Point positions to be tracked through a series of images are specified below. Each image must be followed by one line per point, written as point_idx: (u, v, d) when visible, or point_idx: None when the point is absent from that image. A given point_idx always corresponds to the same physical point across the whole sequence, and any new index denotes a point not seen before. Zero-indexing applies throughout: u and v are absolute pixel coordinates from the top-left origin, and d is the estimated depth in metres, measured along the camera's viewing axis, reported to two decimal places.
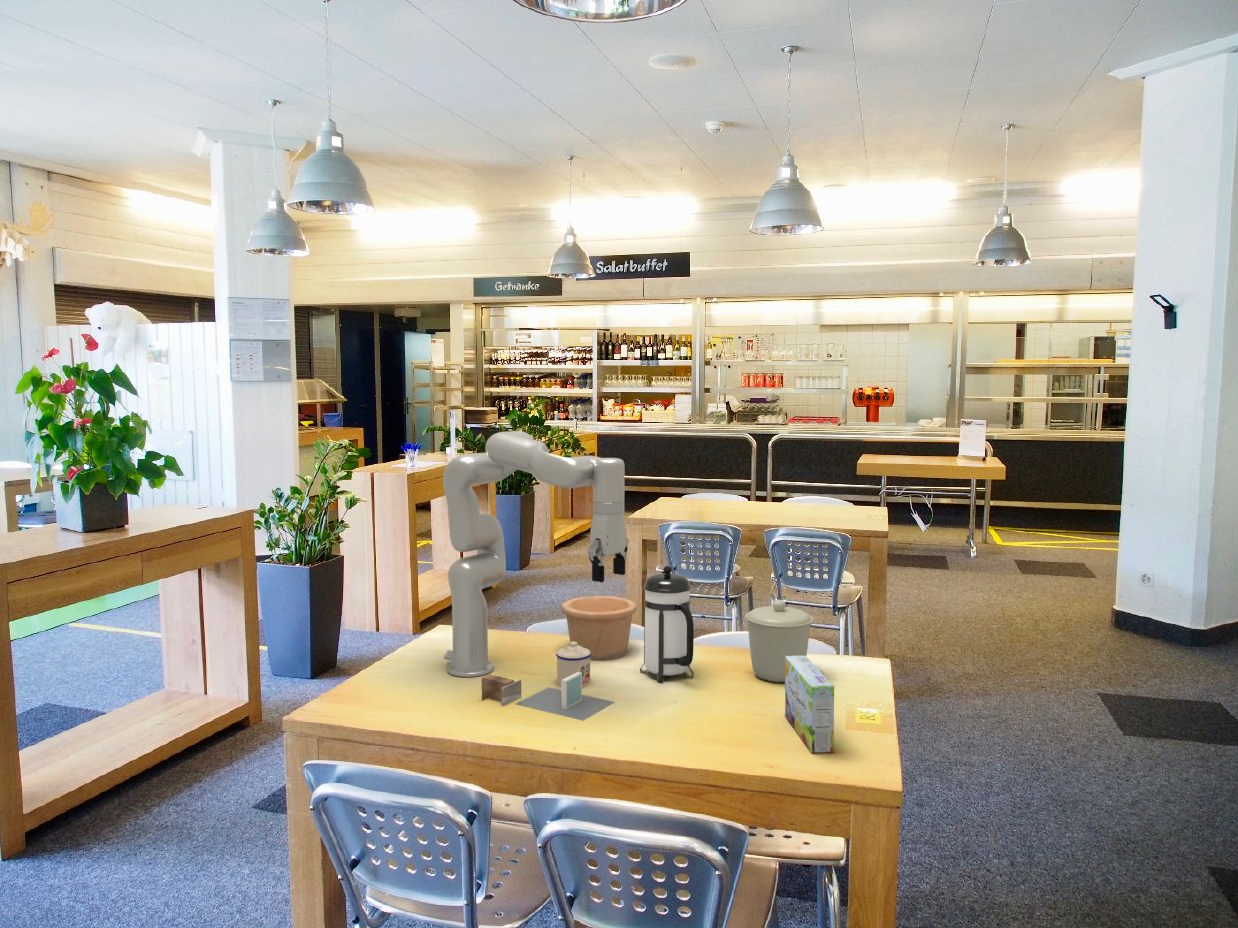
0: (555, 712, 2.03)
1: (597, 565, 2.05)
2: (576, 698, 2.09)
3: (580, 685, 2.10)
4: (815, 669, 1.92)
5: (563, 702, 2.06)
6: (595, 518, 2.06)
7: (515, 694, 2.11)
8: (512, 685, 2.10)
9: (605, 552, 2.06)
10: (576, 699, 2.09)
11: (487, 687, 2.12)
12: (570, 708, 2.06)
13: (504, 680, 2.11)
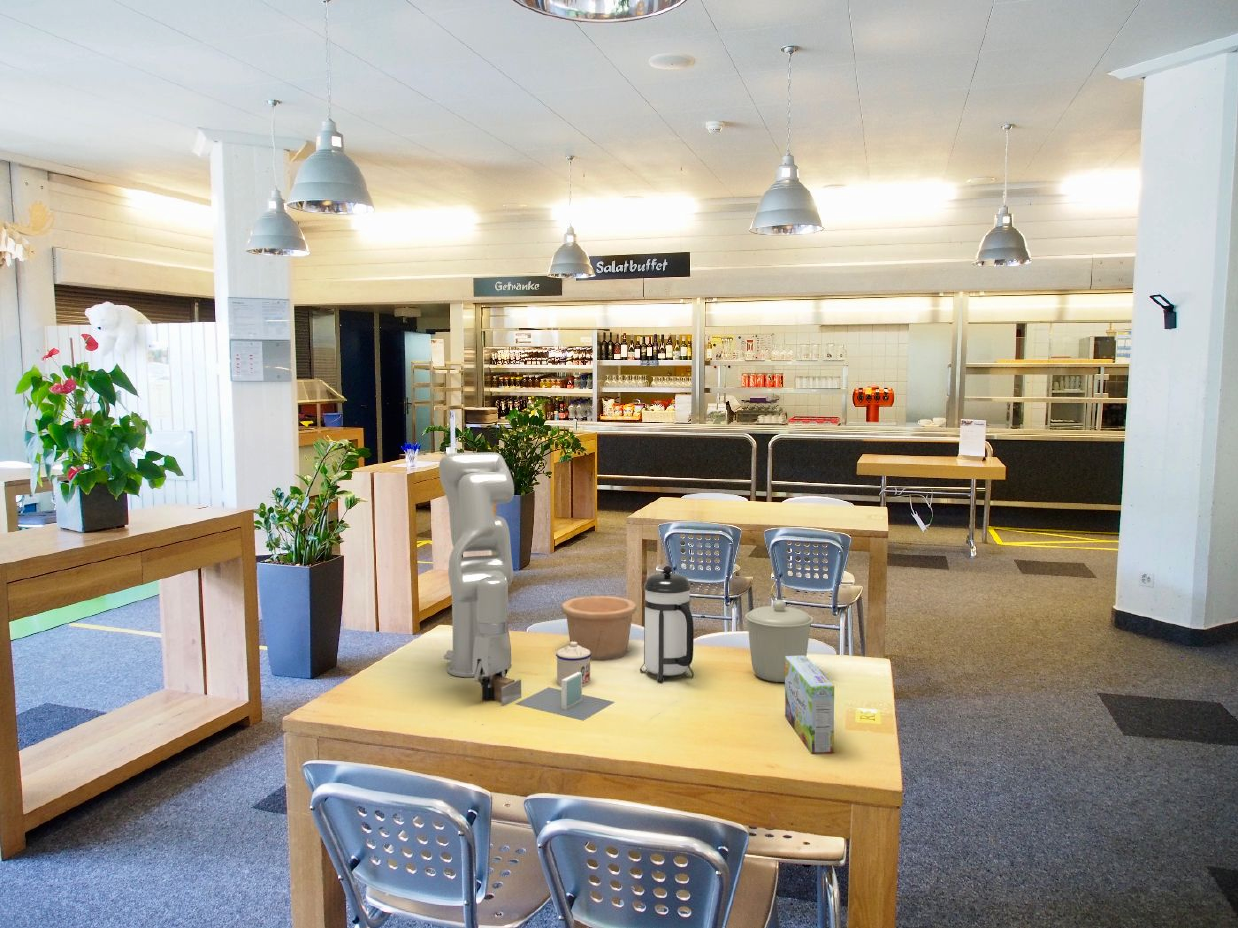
0: (555, 712, 2.03)
1: (487, 687, 2.10)
2: (576, 698, 2.09)
3: (580, 685, 2.10)
4: (815, 669, 1.92)
5: (563, 702, 2.06)
6: (478, 638, 2.09)
7: (515, 694, 2.11)
8: (512, 685, 2.10)
9: (487, 672, 2.08)
10: (576, 699, 2.09)
11: None
12: (570, 708, 2.06)
13: (504, 680, 2.11)
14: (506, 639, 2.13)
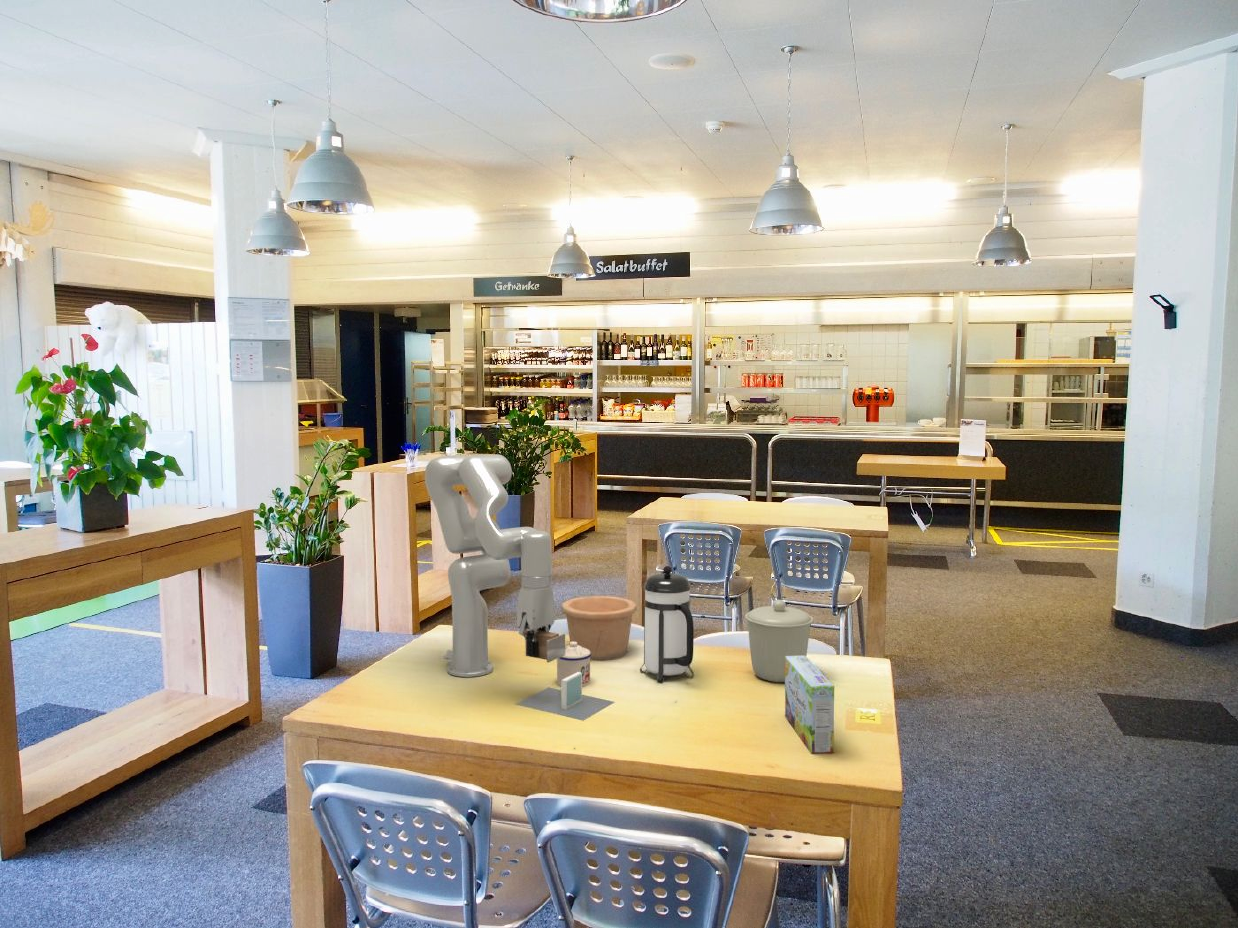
0: (555, 712, 2.03)
1: (531, 641, 2.10)
2: (576, 698, 2.09)
3: (580, 685, 2.10)
4: (815, 669, 1.92)
5: (563, 702, 2.06)
6: (522, 592, 2.08)
7: (559, 648, 2.11)
8: (557, 638, 2.10)
9: (531, 626, 2.07)
10: (576, 699, 2.09)
11: None
12: (570, 708, 2.06)
13: (548, 634, 2.11)
14: (550, 593, 2.13)
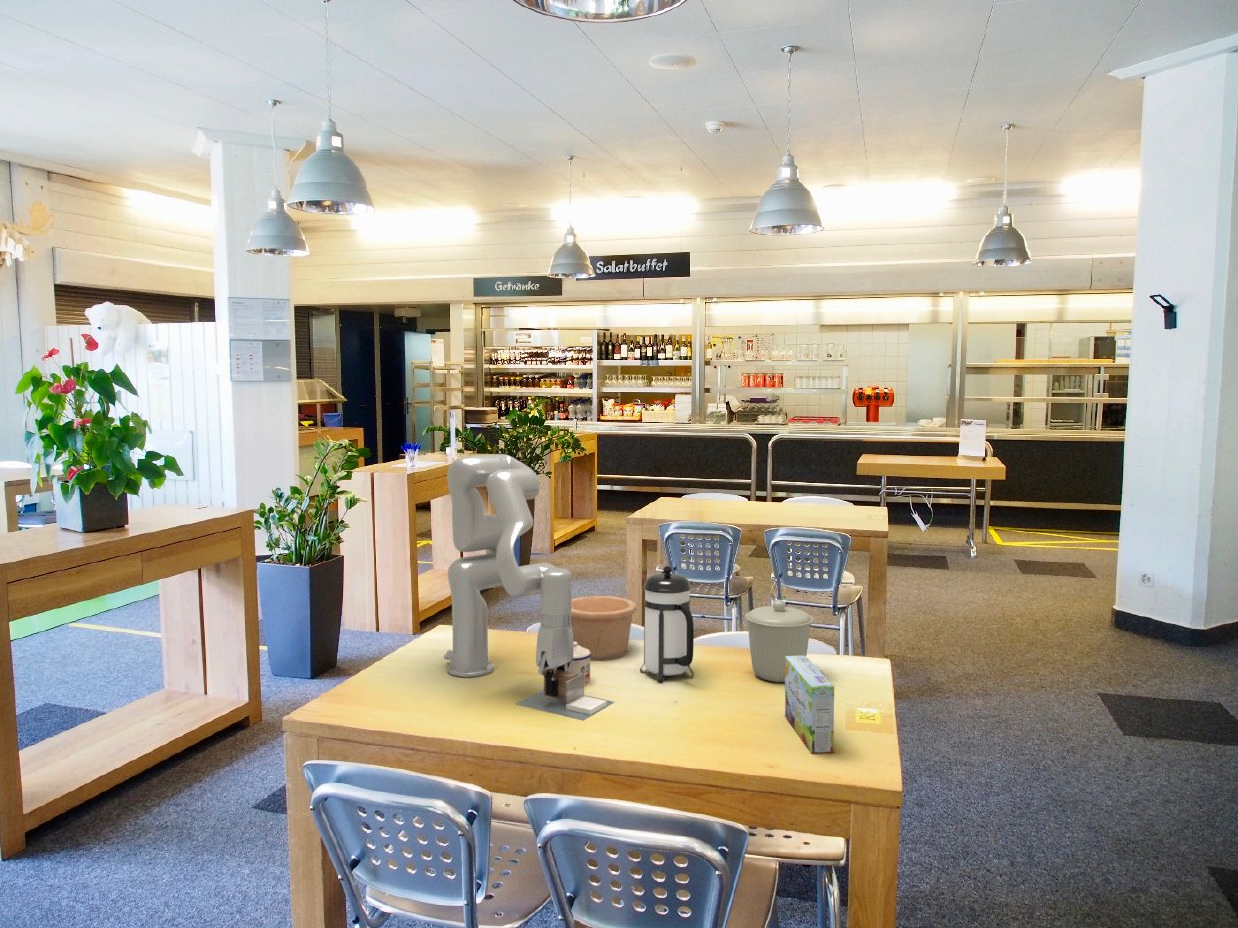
0: (555, 712, 2.03)
1: (550, 680, 2.08)
2: None
3: None
4: (815, 669, 1.92)
5: (571, 707, 2.04)
6: (542, 630, 2.06)
7: (578, 688, 2.09)
8: (576, 679, 2.07)
9: (551, 665, 2.05)
10: None
11: None
12: None
13: (567, 674, 2.08)
14: (569, 631, 2.10)
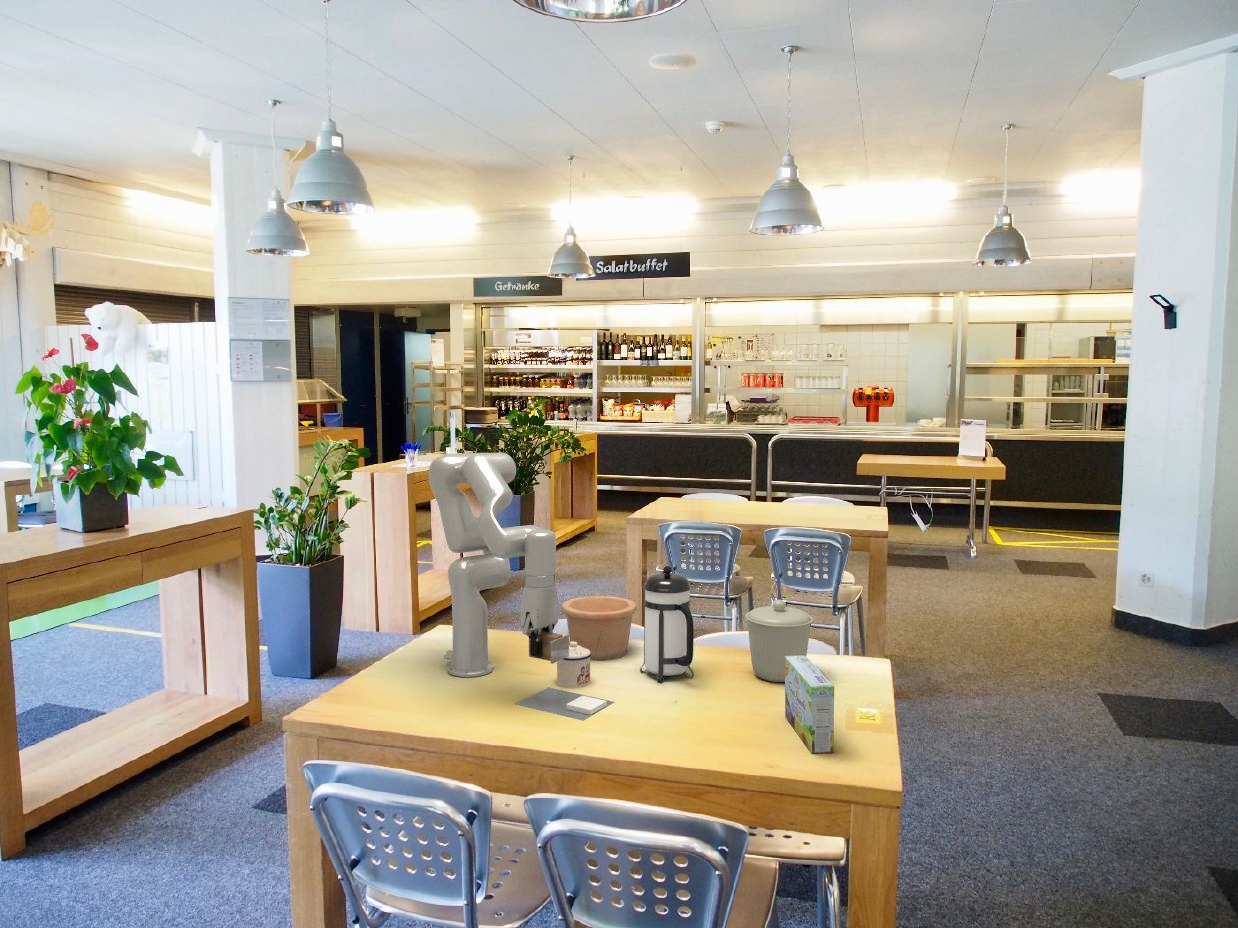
0: (555, 712, 2.03)
1: (535, 641, 2.08)
2: None
3: None
4: (815, 669, 1.92)
5: (571, 707, 2.04)
6: (526, 591, 2.06)
7: (563, 649, 2.09)
8: (560, 639, 2.08)
9: (535, 625, 2.06)
10: None
11: None
12: None
13: (552, 635, 2.09)
14: (554, 593, 2.11)
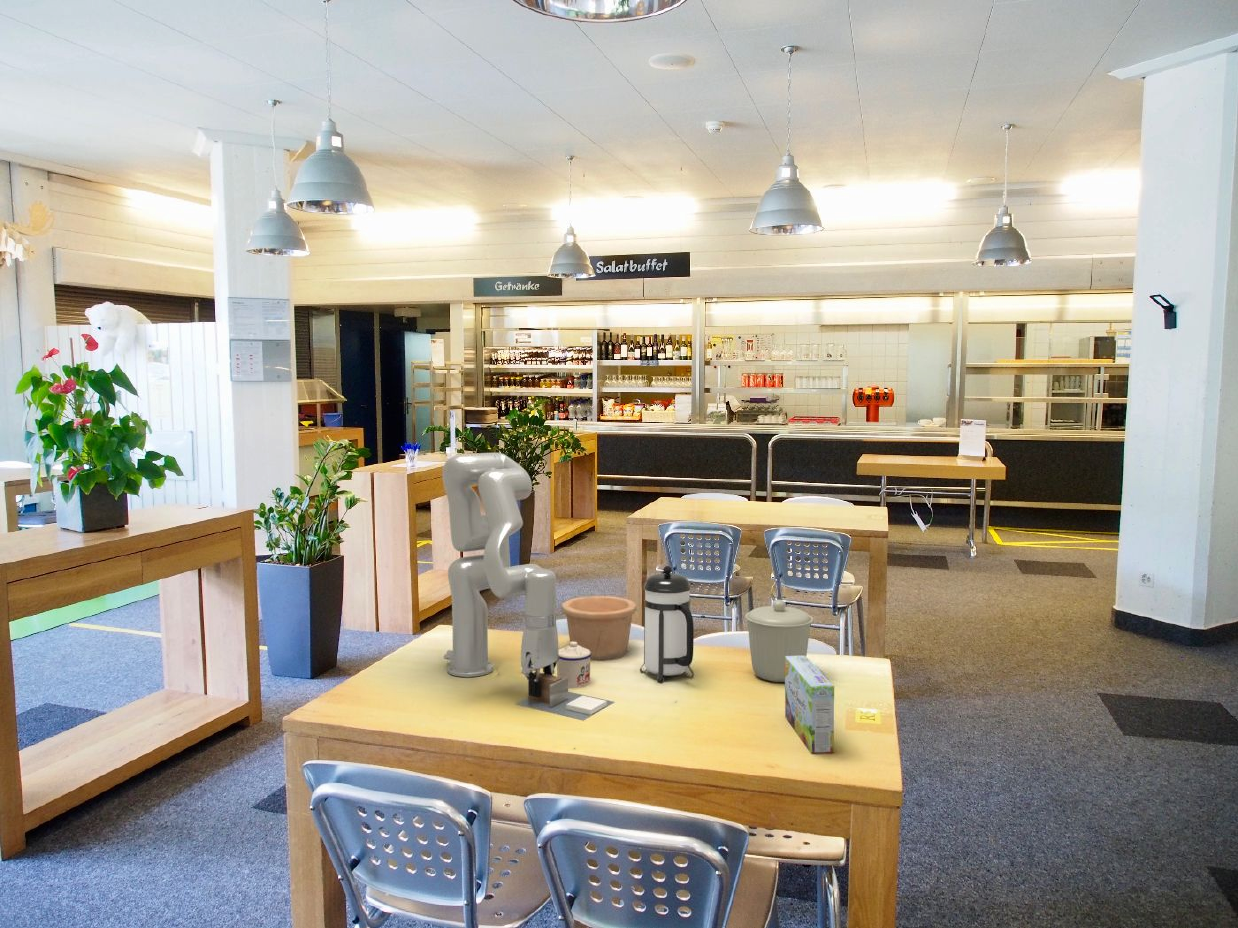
0: (555, 712, 2.03)
1: (533, 681, 2.08)
2: None
3: None
4: (815, 669, 1.92)
5: (571, 707, 2.04)
6: (526, 631, 2.07)
7: (562, 692, 2.10)
8: (560, 682, 2.09)
9: (535, 666, 2.06)
10: None
11: None
12: None
13: (551, 677, 2.10)
14: (554, 632, 2.12)
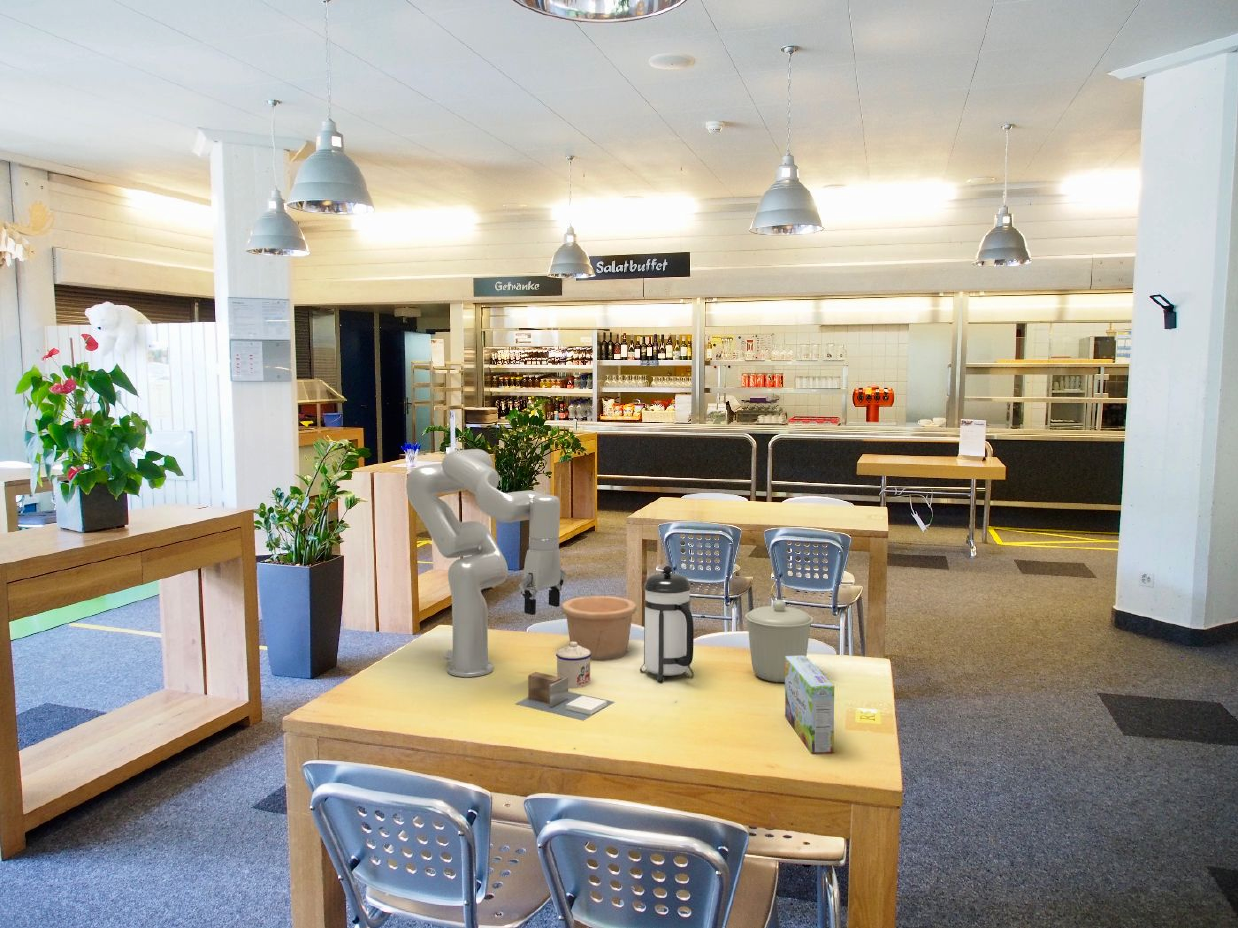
0: (555, 712, 2.03)
1: (529, 599, 2.13)
2: None
3: None
4: (815, 669, 1.92)
5: (571, 707, 2.04)
6: (529, 553, 2.14)
7: (562, 692, 2.10)
8: (560, 682, 2.09)
9: (537, 586, 2.13)
10: None
11: (534, 685, 2.11)
12: None
13: (551, 677, 2.10)
14: (556, 556, 2.18)
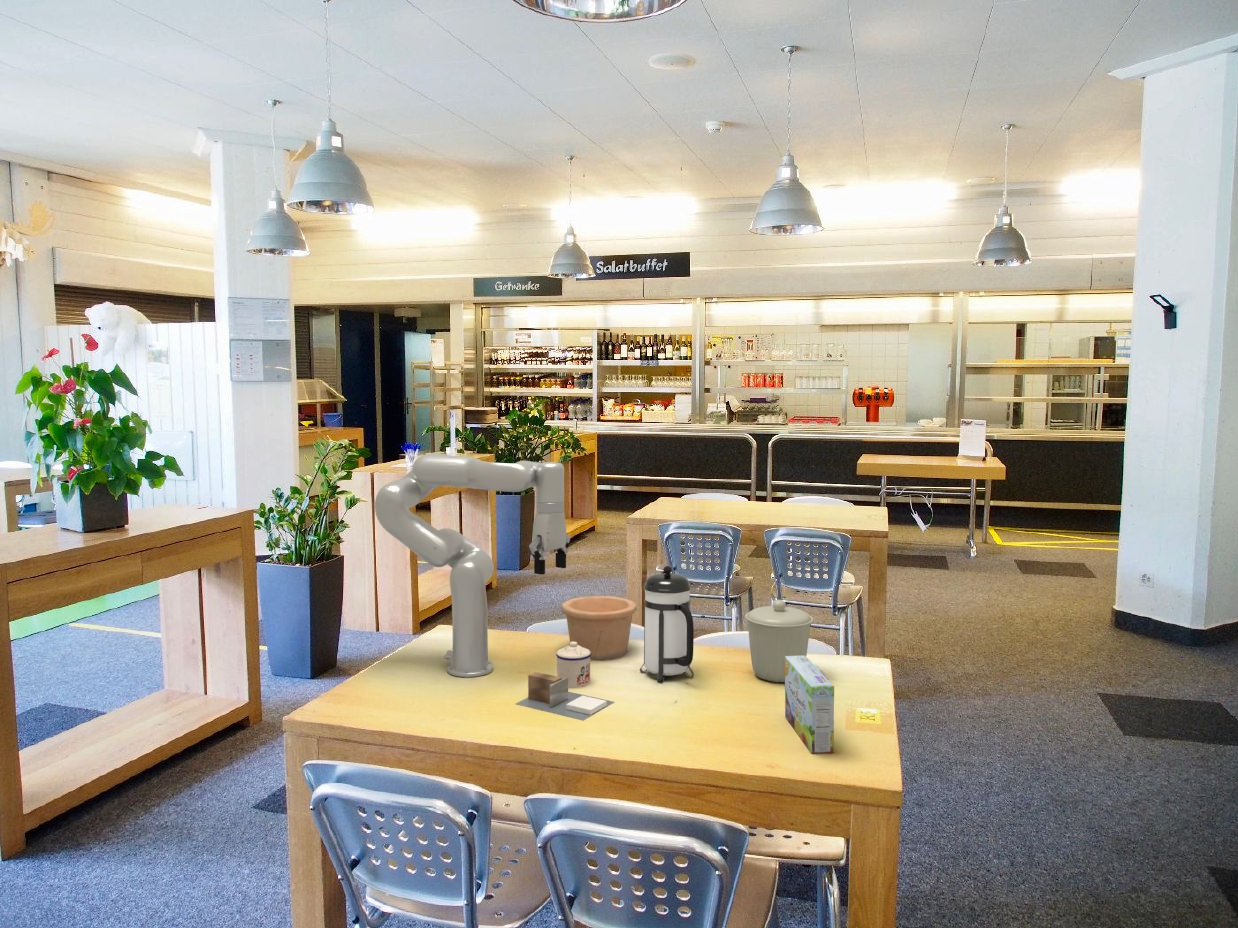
0: (555, 712, 2.03)
1: (538, 559, 2.27)
2: None
3: None
4: (815, 669, 1.92)
5: (571, 707, 2.04)
6: (537, 516, 2.28)
7: (562, 692, 2.10)
8: (560, 682, 2.09)
9: (545, 547, 2.27)
10: None
11: (534, 685, 2.11)
12: None
13: (551, 677, 2.10)
14: (562, 519, 2.32)
